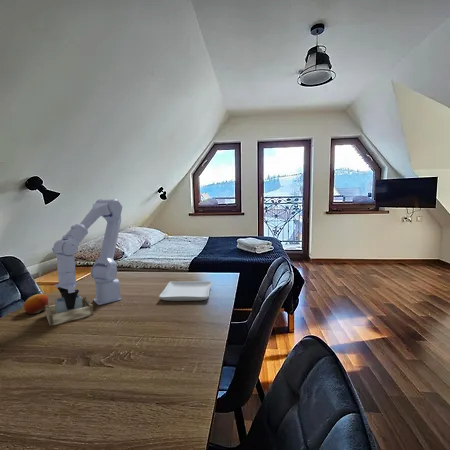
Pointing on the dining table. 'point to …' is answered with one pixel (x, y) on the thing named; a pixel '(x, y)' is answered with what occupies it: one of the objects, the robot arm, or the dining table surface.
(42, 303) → the fruit
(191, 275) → the dining table surface
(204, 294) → the salad plate
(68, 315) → the pine crate
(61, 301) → the small crate
